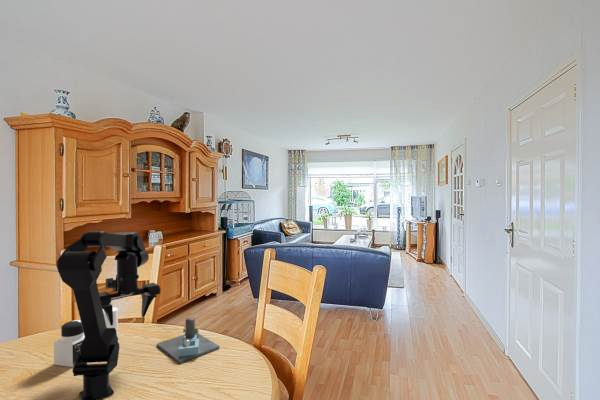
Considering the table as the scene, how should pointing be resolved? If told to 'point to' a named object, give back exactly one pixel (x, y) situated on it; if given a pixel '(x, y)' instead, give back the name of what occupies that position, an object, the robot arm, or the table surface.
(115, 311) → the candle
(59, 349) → the medicine bottle
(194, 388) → the table surface
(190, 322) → the link
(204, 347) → the base plate
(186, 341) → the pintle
